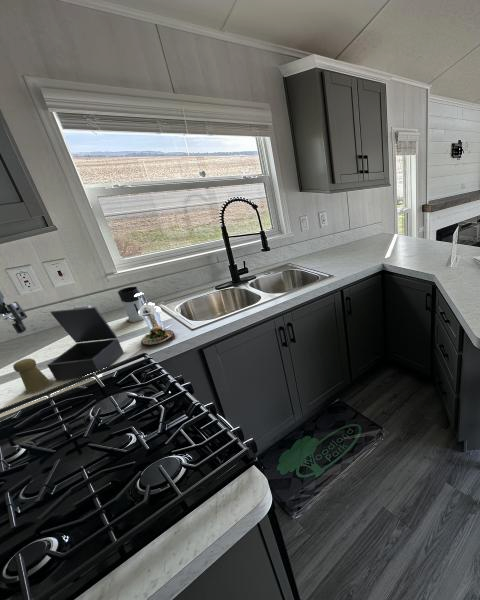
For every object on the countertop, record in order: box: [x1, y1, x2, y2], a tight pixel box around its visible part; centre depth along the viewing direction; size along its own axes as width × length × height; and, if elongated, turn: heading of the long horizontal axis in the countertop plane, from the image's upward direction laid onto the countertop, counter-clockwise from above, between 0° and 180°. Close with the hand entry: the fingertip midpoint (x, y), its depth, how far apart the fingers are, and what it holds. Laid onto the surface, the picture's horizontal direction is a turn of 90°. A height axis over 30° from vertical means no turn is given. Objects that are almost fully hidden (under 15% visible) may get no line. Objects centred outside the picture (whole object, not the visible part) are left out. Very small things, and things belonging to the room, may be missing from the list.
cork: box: [13, 358, 51, 393], centre depth 114 cm, size 6×6×11 cm
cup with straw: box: [133, 292, 165, 331], centre depth 145 cm, size 8×9×20 cm
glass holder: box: [117, 286, 148, 323], centre depth 158 cm, size 9×14×15 cm, turn 72°
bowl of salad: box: [140, 325, 176, 346], centre depth 140 cm, size 12×12×8 cm
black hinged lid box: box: [46, 338, 125, 381], centre depth 125 cm, size 15×15×7 cm
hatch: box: [50, 304, 118, 344], centre depth 127 cm, size 15×15×5 cm
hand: (7, 333), depth 107 cm, fingers open, 8 cm apart
